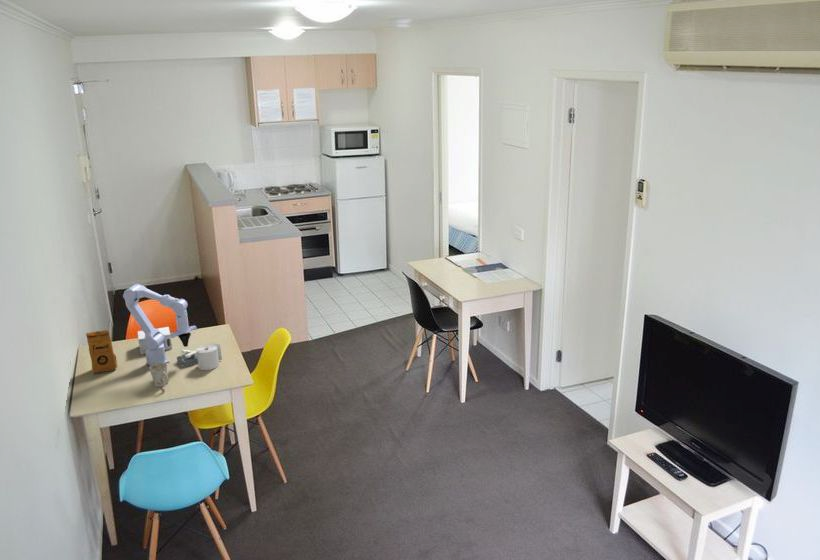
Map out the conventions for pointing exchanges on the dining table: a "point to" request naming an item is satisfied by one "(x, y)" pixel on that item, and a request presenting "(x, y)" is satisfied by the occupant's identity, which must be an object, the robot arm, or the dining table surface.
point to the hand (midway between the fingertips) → (185, 346)
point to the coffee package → (101, 351)
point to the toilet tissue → (208, 356)
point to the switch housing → (187, 360)
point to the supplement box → (166, 343)
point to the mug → (159, 374)
